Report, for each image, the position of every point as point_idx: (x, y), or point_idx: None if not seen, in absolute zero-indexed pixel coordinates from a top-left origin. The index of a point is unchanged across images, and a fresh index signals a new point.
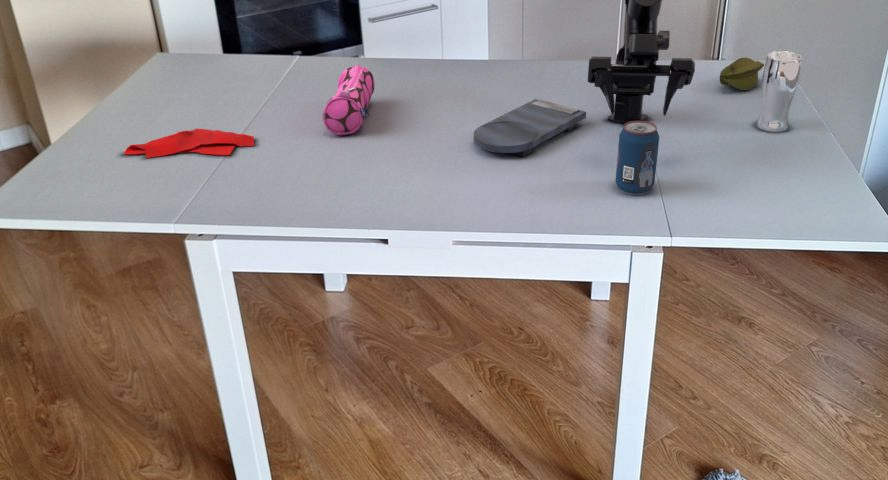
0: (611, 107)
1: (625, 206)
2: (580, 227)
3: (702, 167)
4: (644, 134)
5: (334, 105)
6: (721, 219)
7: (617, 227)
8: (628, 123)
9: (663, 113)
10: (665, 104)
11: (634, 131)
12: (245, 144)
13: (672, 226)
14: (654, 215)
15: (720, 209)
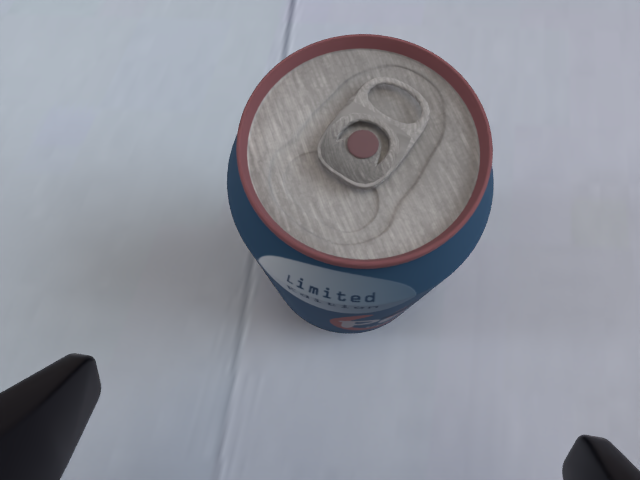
0: (637, 470)
1: None
2: (554, 11)
3: None
4: (351, 45)
5: None
6: (124, 41)
7: (443, 8)
8: (441, 235)
9: (91, 402)
10: (23, 408)
11: (409, 110)
12: None
13: (280, 9)
14: None
15: (100, 99)
